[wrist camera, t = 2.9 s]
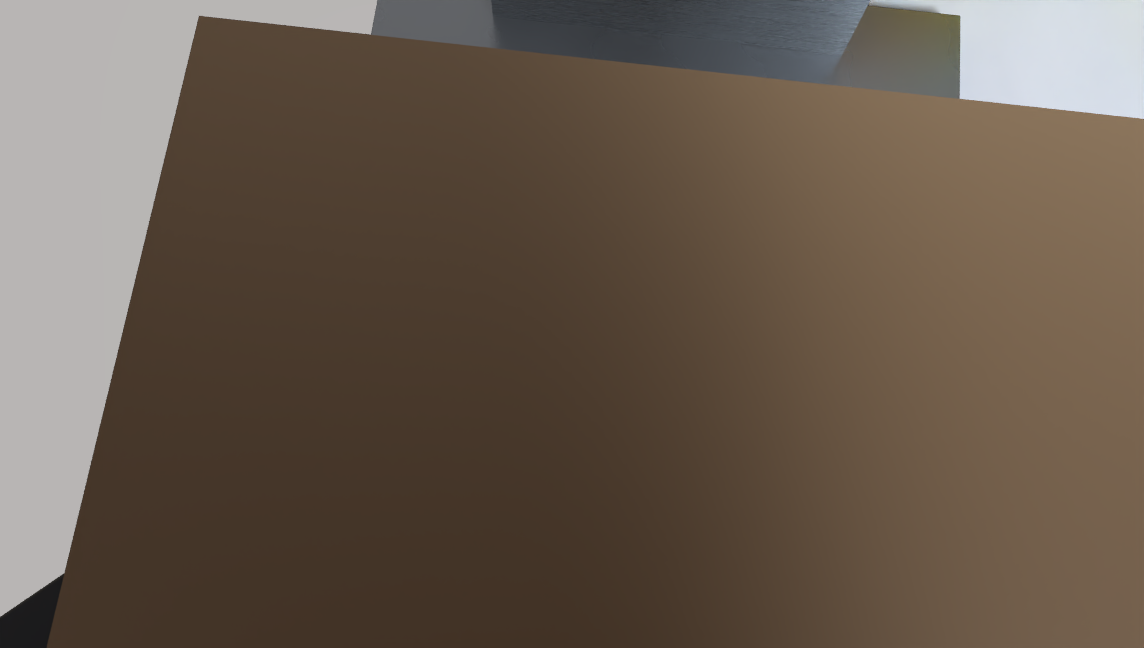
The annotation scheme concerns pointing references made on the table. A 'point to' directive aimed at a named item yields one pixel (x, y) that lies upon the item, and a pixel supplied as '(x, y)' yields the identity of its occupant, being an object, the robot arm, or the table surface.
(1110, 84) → the table surface
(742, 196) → the brown wooden block
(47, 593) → the robot arm
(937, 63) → the clip
